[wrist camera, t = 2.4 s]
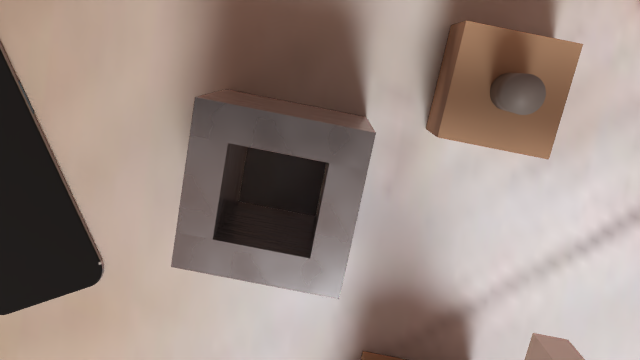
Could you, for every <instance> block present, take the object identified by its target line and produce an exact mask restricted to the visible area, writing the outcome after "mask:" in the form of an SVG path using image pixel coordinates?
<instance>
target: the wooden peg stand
mask: <svg viewBox="0 0 640 360" xmlns="http://www.w3.org/2000/svg"><path fill="white" fill-rule="evenodd" d="M361 360H406V359H401V358H396V357H391V356H386V355H380V354H375V353H370V352H365V351H363V353H362V357H361Z"/></svg>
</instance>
